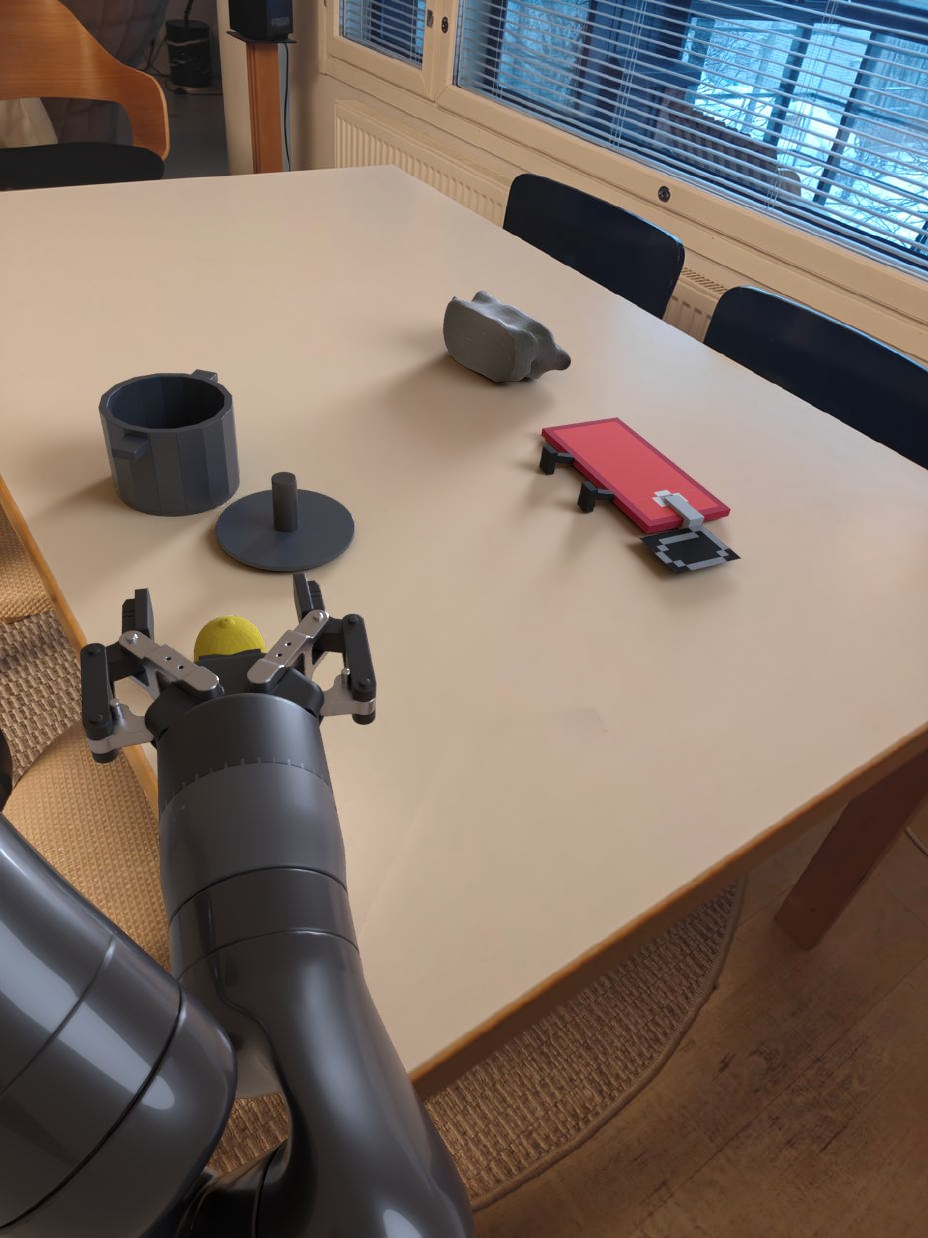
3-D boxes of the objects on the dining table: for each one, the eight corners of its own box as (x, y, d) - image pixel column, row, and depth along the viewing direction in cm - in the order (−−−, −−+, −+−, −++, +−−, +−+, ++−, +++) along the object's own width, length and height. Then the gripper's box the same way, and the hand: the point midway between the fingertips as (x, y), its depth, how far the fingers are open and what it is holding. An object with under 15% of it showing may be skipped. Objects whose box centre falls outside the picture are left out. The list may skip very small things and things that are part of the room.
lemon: (248, 727, 67) (240, 653, 62) (185, 706, 68) (172, 631, 63) (282, 681, 71) (277, 608, 66) (222, 662, 72) (213, 588, 67)
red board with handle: (659, 585, 85) (772, 557, 91) (666, 562, 83) (781, 535, 89) (514, 442, 105) (615, 427, 111) (517, 421, 103) (619, 407, 109)
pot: (78, 516, 86) (57, 431, 79) (163, 432, 99) (151, 354, 93) (197, 541, 84) (185, 456, 78) (267, 453, 98) (262, 374, 92)
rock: (577, 380, 120) (587, 324, 114) (518, 399, 114) (526, 341, 108) (489, 333, 129) (495, 279, 124) (431, 348, 123) (435, 293, 118)
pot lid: (193, 559, 82) (184, 501, 78) (249, 486, 92) (245, 432, 88) (329, 588, 81) (328, 530, 76) (371, 511, 91) (372, 456, 87)
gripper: (414, 743, 37) (347, 526, 48) (53, 800, 33) (74, 550, 45) (406, 845, 42) (347, 626, 53) (91, 905, 38) (101, 656, 49)
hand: (222, 592), depth 49 cm, fingers open, 8 cm apart
